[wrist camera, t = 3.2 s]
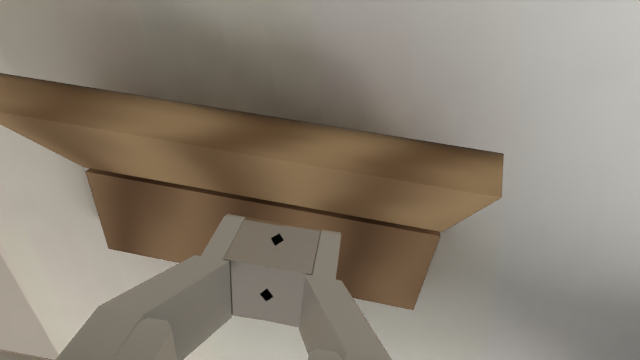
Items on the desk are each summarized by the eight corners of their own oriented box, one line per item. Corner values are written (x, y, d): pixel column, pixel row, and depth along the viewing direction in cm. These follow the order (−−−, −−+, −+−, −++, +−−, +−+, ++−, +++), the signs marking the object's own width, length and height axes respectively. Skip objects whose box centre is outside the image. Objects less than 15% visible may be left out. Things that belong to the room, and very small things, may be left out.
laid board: (437, 217, 20) (440, 236, 19) (412, 289, 24) (413, 309, 22) (104, 158, 22) (85, 171, 21) (123, 232, 25) (108, 248, 24)
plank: (503, 153, 13) (501, 197, 12) (444, 202, 19) (441, 232, 19) (-16, 70, 14) (-35, 106, 14) (94, 141, 21) (84, 167, 21)
